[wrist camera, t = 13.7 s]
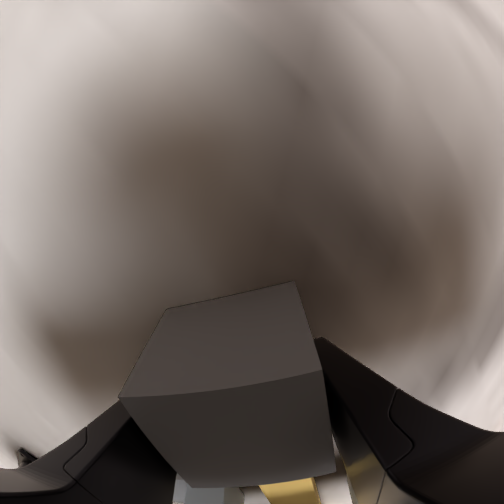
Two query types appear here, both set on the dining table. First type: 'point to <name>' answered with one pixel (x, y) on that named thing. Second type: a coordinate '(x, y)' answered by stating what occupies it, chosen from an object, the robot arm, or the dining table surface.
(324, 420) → the yellow handled hammer
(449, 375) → the dining table surface
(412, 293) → the dining table surface
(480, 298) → the dining table surface
